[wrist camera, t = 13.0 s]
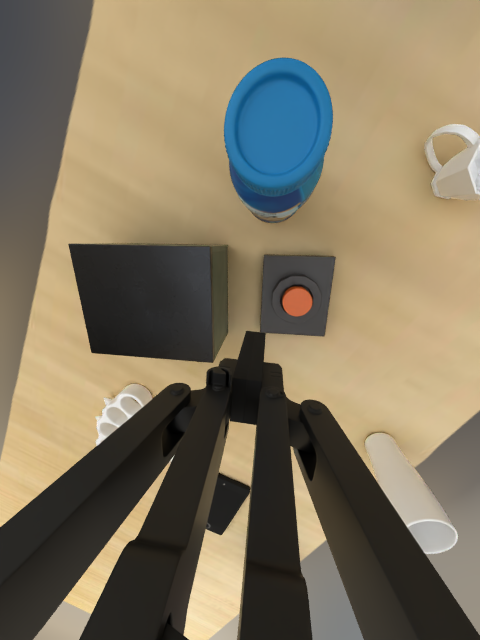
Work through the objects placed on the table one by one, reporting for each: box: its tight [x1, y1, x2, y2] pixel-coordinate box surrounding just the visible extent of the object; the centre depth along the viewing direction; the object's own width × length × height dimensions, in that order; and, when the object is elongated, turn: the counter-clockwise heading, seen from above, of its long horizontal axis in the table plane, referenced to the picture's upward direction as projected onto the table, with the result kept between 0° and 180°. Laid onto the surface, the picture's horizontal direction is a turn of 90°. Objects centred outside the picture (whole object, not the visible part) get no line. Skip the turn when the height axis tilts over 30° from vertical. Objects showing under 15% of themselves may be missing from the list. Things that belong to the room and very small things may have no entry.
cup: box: [424, 124, 480, 200], centre depth 26 cm, size 7×10×8 cm
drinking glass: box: [365, 433, 458, 554], centre depth 37 cm, size 7×7×15 cm
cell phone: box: [206, 474, 250, 535], centre depth 54 cm, size 9×18×1 cm, turn 158°
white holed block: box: [95, 384, 152, 445], centre depth 48 cm, size 3×18×15 cm
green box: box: [112, 243, 228, 358], centre depth 35 cm, size 17×15×10 cm
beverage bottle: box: [224, 58, 333, 223], centre depth 23 cm, size 8×8×20 cm
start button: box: [282, 286, 312, 316], centre depth 33 cm, size 4×4×2 cm
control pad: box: [260, 255, 336, 336], centre depth 35 cm, size 12×10×4 cm
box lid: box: [69, 244, 215, 363], centre depth 30 cm, size 18×15×1 cm
